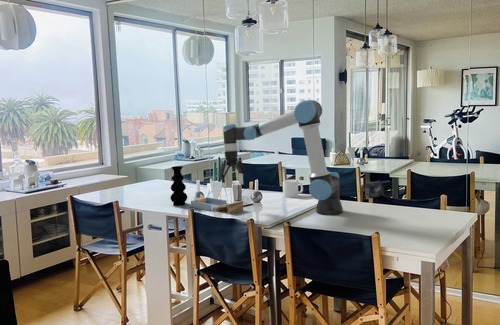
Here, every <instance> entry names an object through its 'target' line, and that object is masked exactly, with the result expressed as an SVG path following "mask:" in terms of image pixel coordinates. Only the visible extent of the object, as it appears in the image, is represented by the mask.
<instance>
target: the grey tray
mask: <svg viewBox="0 0 500 325" xmlns="http://www.w3.org/2000/svg"><path fill="white" fill-rule="evenodd" d="M203 198H204V199H205V200H206V203H201V202H198V200H199V199H200V198H198V199H194V200H190V208H192V207H193V209H198V210H203V211H208V212H211V211H214V209H213V207H217V206H221V205H225V204H228V200H226V199H221V198H216V197H215V198H214V197H209V196H208V197H203Z"/></svg>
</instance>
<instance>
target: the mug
mask: <svg viewBox="0 0 500 325" xmlns="http://www.w3.org/2000/svg"><path fill="white" fill-rule="evenodd" d="M299 185H300V191H299ZM303 191H304V186H303V183H302V182H299V180H297V179H284V180H282V194H283V198H285V199H286V198H287V199H294V198H298V197H299V194H302V193H303Z"/></svg>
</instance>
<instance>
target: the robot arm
mask: <svg viewBox="0 0 500 325" xmlns="http://www.w3.org/2000/svg"><path fill="white" fill-rule="evenodd" d="M322 114H323V106H322V105H321V103H320V102H318V101H316V100H314V99H313V100H307V99H306V100H302V101H300V102H298V103H297V104H296V105H295V107H294V110H292V111H290V112H286V113H284V114H281V115H279V116H276V117H273V118H270V119H268V120H265V121H262V122H260V123H259V122H258V123H256V124H254V125H250V126H240V127H238V126H237V124H235V123H227V124H224V125H223V128H222V133H223V147H224V148H223V149H224V157H225V159H221V165H220V167H219V172H218V175H217V176H218V177H220V178H221V183H222V189H228V185H227V184H228V183H227V174H228V172H229V170H230V168H231V167H235V169H236V170H237V171H238V183H239V185H244V174H245V173H246V171H247V170H246V168H245V166H244V163H243V161H242V157H240V156H239V157H238V154H239V153H238V141H252V140H255V139H257V138H258V139H259V138H260V137H263V136H265V135H268V134H271V133H273V132H276V131H279V130H282V129H285V128H287V127H291V126H293V125H294V126H295V125H298V128H299V129H300V130H302V133H303V139H304V144H305V148H306V149H305V150H306V154H307V158H308V159H307V160H308V163H309V168H310V175H309V176H308V178H309V183H310V184H309V188H308V191H309V194H310V196H311V198H314V199H315V200H317V204H316V208H315V212H316V213H317V214H319V215H326V216H331V215H332V216H333V215H340V214H342V213H344V210H343V206H342V202H341V198H340V174H339V173H338V172H330V171H329V170H327V164H326V158H325V153H324V149H323V144H322V143H323V142H322V139H321V132H320V129H319V126H320V124H321V119H320V118H321V117H322Z"/></svg>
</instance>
